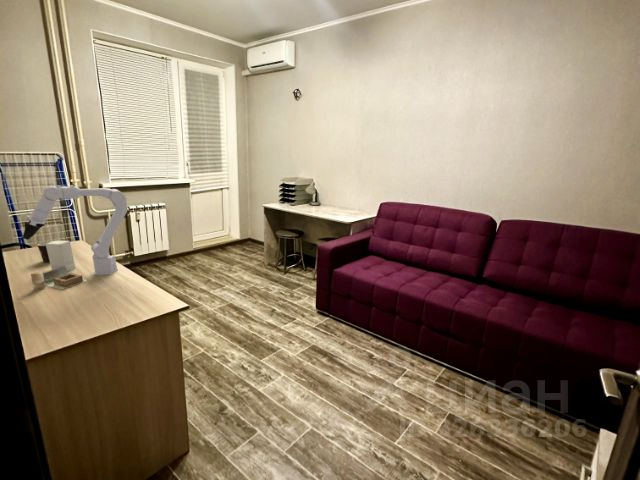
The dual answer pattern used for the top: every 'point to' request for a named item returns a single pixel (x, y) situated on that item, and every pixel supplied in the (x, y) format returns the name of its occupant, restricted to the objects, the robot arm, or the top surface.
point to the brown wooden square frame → (68, 280)
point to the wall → (54, 274)
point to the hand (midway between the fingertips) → (27, 237)
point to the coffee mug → (44, 251)
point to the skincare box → (60, 255)
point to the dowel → (38, 280)
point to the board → (57, 285)
